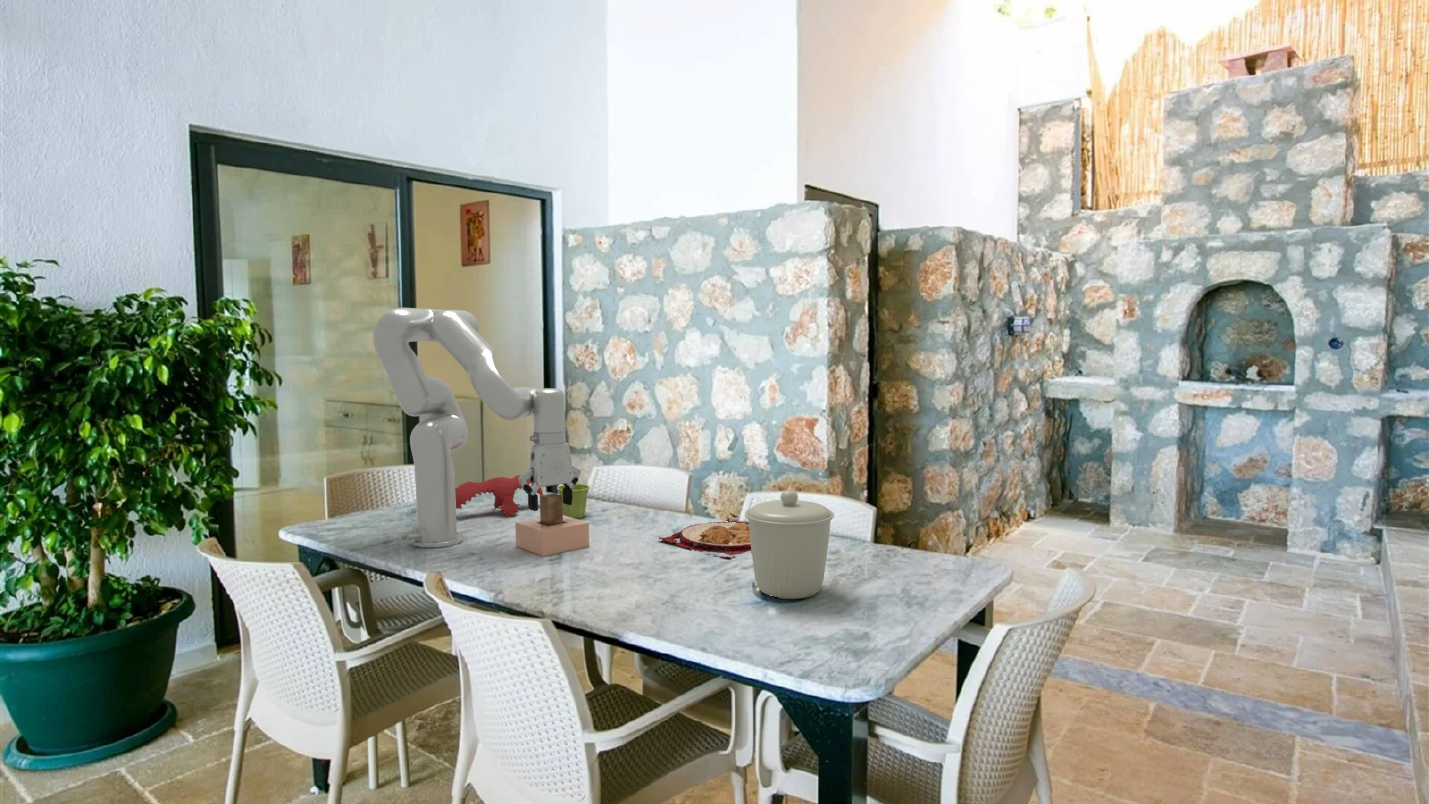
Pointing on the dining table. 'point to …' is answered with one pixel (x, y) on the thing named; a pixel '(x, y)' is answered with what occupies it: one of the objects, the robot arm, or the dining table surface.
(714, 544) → the plate with food
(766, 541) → the canister
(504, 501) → the decorative bird sculpture
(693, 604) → the dining table surface
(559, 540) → the pink planter box
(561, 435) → the robot arm
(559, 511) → the walnut peg
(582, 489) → the plant pot
